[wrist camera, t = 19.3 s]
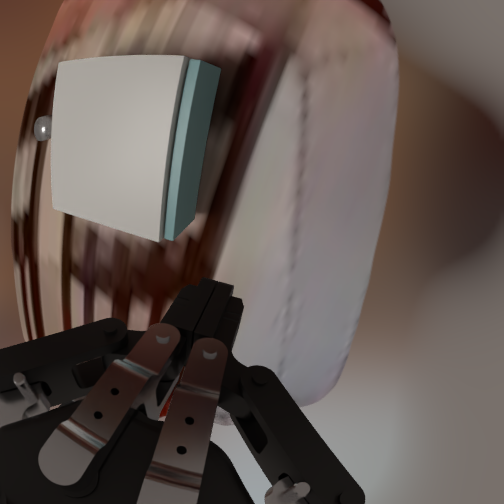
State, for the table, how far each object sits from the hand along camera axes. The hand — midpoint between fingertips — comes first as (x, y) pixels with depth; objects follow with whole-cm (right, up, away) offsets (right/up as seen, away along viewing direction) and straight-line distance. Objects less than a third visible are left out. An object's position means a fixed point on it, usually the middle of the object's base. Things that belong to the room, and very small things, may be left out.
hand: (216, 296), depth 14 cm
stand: (-27, +21, +19) cm, 39 cm away
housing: (-12, +17, +17) cm, 27 cm away
